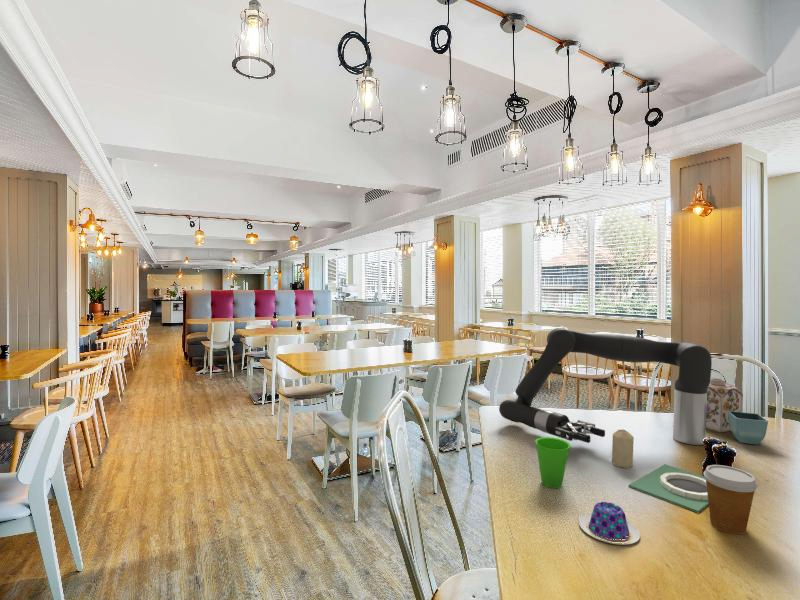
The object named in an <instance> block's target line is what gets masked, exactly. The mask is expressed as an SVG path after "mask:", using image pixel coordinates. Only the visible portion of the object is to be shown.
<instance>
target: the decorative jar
mask: <svg viewBox="0 0 800 600" xmlns="http://www.w3.org/2000/svg"><path fill="white" fill-rule="evenodd" d="M743 398H744V394H743V393H742V392H741V390H740V389H739V388H738V387H736V385H733V384H729V383H726V380H725V378H724V379H723V378H717V377H711V378H710V384H709V386H708V389H707V411H706V430H707V429H708V430H711V431H714V432H717V433H727V432H732V431H731V428H730V424H729V416H728V411H733V412H743V408H744V407H743V402H744V401H743V400H744V399H743Z"/></svg>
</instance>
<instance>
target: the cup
mask: <svg viewBox="0 0 800 600" xmlns="http://www.w3.org/2000/svg"><path fill="white" fill-rule="evenodd" d="M534 443H535V445H536V450H537V451H536V452H537V459H538V466H539V474H540V481H541V483H542V484H543V486H545V487H548V488H553V489H556V488H557V489H558V488H560V487H562V485H563V482H564V476H565V471H566V466H567V461H568V457H569V450H570V448H571V447H572V445H571V444H570V442H568V440H567V441H566V439H563V438H559V437H553V436H544V437H543V436H542V437H538V438H536V439H535V441H534Z"/></svg>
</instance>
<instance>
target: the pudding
mask: <svg viewBox="0 0 800 600" xmlns="http://www.w3.org/2000/svg"><path fill="white" fill-rule="evenodd" d="M578 519H579V520H578V525H579V526H580V528H581V530H582V531H583V532H585V533H586V534H587V535H589V536H590V537H592V538H594V539H596V540H599V541H602V542H604V543H609V544H612V545H621V546H623V545H624V546H625V545H633V544H634V543H637V542H638V541H639V540H640V539H641V532H640V531H639V530H638V528H637V527H636V526H634V524H632V523H631V522H629V521H627V517H626V514H625V511H624V510H623V509H622V507H621V506H619V505H617V504H615V503H613V502H607V501H601V502H597V503H595V504H594V505H593V510H592V512H591V513H586V514H583V515H581V516H580V518H578ZM589 520H590V522H589V523H588V526H589V527H588V529H589V530H590V529H591V530H590V531H592V530H593V531H592V532H593V534H594V533H595V535H596V534H597V535H599V536H603V537H602V538H604V537H606V538H608V539H612V540H613V539H614V540H615V539H621V540H622V539H626V540H627V537H626V536H629V535H630V532H631V533H632V535H633V539H632V540H631V541H630V542H628V543H624V544H622V543H612V542H608V541H604V540H601V539H599V538H597V537H596V536H597V535H596V536H594V535H593V534H591V533H590V532H589V530H588V529H587V528H586V523H587V521H589ZM629 529H630V532H629ZM599 536H598V537H599ZM629 537H630V536H629ZM606 538H605V539H606ZM615 541H616V540H615Z"/></svg>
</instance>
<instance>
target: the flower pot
mask: <svg viewBox="0 0 800 600" xmlns="http://www.w3.org/2000/svg"><path fill="white" fill-rule="evenodd" d="M728 416H729V424H730V428H731V431H730V432H731V433H732V435H733V436H734V438H735V439H736V440H737V441H738V443H740V444H748V445H749V444H750V445H754V446H755V445H760V443H762V442H763V441H764V439H765V437H766V434H767V430H768V425H769V420H767V419H766V418H764V417H763V416H762V415H760V414H759V413H755V412H754V413H752V412H745V411H744V412H743V411H742V412H733V411H728Z"/></svg>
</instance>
